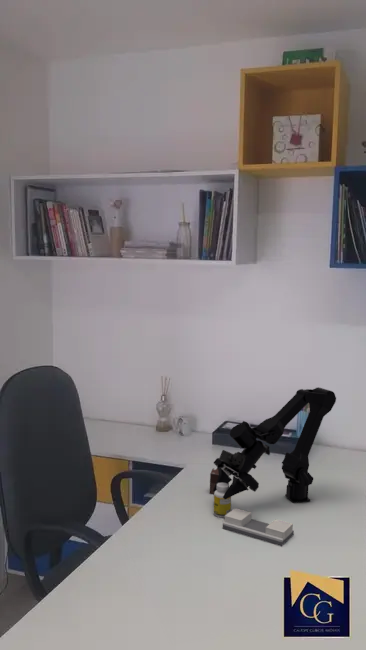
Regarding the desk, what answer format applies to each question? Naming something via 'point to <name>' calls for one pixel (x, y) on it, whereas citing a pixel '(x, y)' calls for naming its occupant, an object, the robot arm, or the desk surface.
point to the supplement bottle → (221, 501)
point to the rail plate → (258, 527)
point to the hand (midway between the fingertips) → (219, 495)
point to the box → (213, 479)
